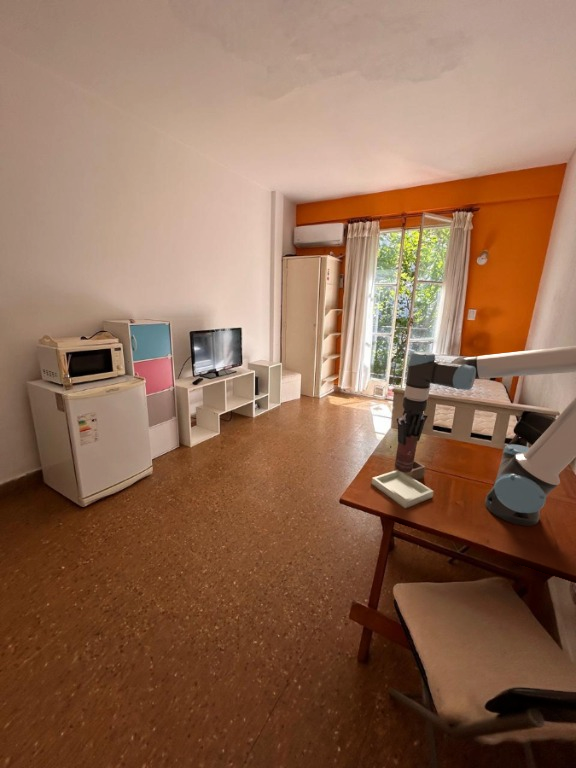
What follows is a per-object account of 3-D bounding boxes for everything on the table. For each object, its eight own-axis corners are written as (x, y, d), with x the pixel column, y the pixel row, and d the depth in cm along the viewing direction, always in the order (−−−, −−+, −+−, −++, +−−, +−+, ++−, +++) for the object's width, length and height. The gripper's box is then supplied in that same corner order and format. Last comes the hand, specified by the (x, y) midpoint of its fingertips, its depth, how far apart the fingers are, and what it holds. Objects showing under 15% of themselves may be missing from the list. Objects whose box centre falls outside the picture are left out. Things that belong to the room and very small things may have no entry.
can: (409, 464, 118) (415, 430, 114) (414, 474, 112) (420, 438, 108) (392, 462, 118) (398, 428, 114) (396, 472, 112) (402, 436, 108)
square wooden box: (423, 477, 125) (425, 466, 124) (409, 482, 122) (411, 471, 120) (407, 468, 132) (409, 457, 131) (393, 472, 128) (395, 461, 127)
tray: (432, 497, 113) (433, 491, 113) (405, 508, 107) (406, 501, 106) (397, 475, 127) (398, 469, 126) (371, 483, 120) (372, 477, 119)
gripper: (420, 392, 113) (410, 451, 120) (392, 396, 107) (383, 459, 113) (438, 398, 107) (427, 460, 114) (410, 403, 100) (400, 469, 107)
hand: (405, 460), depth 113 cm, fingers closed
